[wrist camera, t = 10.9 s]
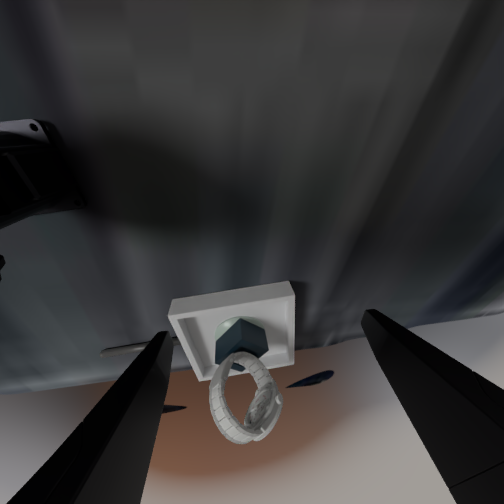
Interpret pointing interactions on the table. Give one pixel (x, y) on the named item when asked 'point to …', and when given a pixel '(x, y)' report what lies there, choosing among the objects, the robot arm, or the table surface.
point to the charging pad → (223, 317)
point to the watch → (247, 357)
